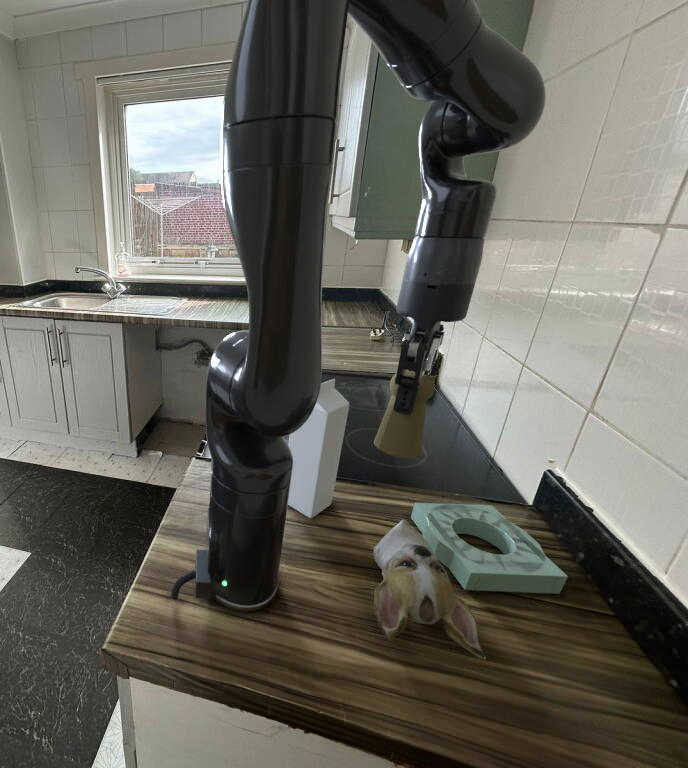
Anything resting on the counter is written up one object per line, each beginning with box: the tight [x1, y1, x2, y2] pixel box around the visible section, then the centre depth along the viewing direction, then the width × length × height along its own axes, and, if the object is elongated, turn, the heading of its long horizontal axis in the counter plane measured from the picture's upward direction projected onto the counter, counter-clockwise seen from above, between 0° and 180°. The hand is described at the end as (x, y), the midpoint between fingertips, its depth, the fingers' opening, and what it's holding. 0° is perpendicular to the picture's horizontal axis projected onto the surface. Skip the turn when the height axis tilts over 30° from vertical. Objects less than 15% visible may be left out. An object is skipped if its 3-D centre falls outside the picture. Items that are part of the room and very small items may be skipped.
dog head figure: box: [373, 519, 487, 660], centre depth 49 cm, size 11×9×15 cm
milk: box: [287, 378, 350, 520], centre depth 64 cm, size 6×6×22 cm
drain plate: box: [410, 502, 569, 595], centre depth 58 cm, size 14×14×3 cm
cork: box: [373, 370, 436, 459], centre depth 55 cm, size 6×6×11 cm
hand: (407, 405), depth 54 cm, fingers closed on cork, 5 cm apart
